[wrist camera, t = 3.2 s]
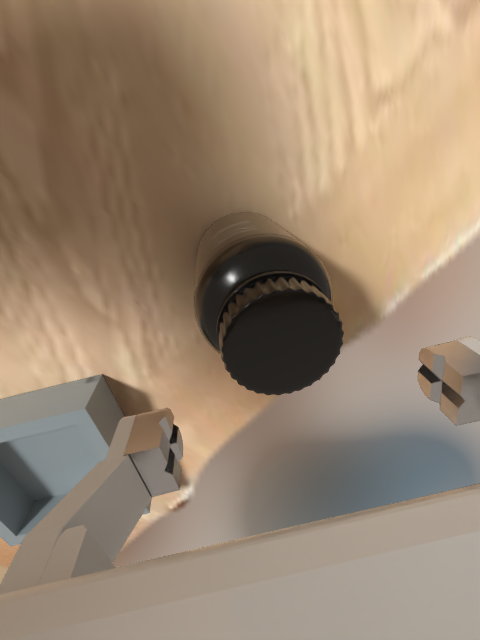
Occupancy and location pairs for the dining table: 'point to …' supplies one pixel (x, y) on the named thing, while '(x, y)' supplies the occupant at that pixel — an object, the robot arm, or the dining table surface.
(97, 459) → the tray
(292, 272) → the supplement bottle
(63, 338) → the dining table surface
